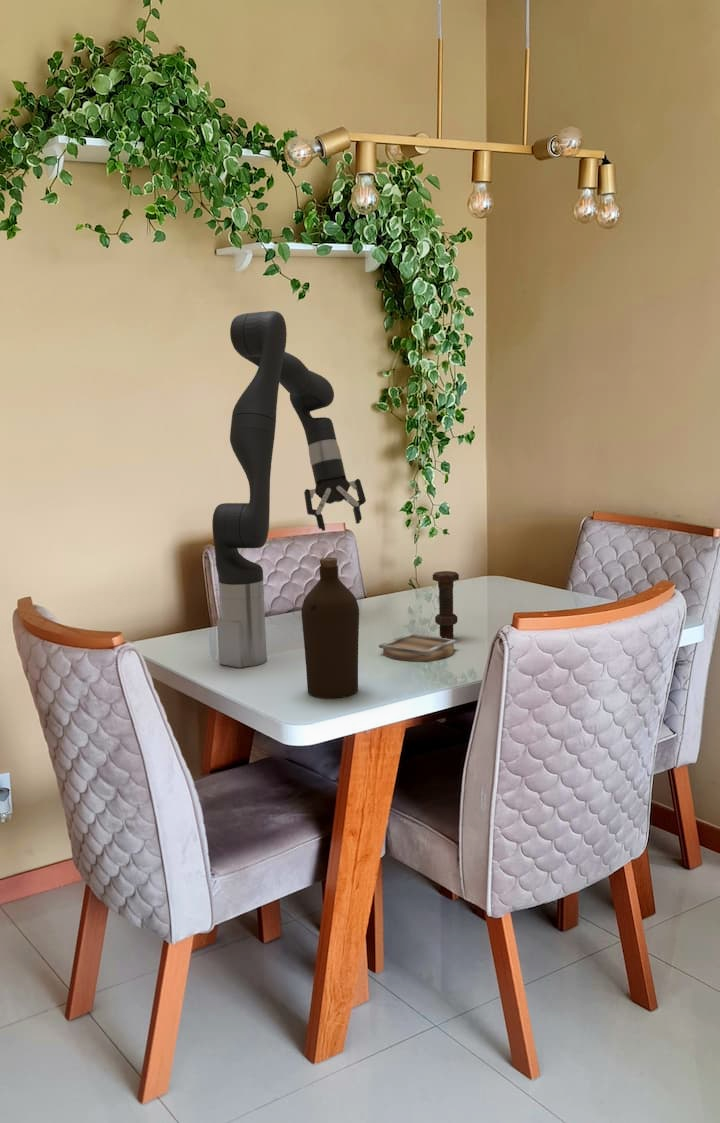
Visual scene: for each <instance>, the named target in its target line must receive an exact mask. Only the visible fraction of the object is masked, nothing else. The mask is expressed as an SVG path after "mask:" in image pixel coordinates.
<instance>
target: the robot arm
mask: <svg viewBox="0 0 720 1123" xmlns="http://www.w3.org/2000/svg"><path fill="white" fill-rule="evenodd" d="M229 333H230V340H231V345H232V346H233V348H234V350H235V351H236V352H237V354H239V356H241V357H242V358H243V359H245V360H247V361H249V362H251V363H252V364H253V365H255V366H257V367H258V368H257V371H256V373H255V375H254V376H253V378H252V380H251V381H250V382H249V384H248V385H247V386H246V388H245V389H244V391H243V392H242V394H241V395H240V397H239V398H238V399H237V402H236V403H235V405H234V407H233V408H232V409H233V410H232V415H231V423H230V429H229V430H230V433H229V443H230V445H231V448H232V451H233V453H234V455H235V457H236V459H237V461H238V462H239V464H240V466H241V468H242V470H243V471H244V473H245V476H246V479H247V481H248V484H249V485H248V488H249V501H248V502H247V503H245V502H239V503H238V502H224V503H220V504H218V505H217V506H216V507H215V508H214V511H213V515H212V521H211V522H212V537H213V539H212V540H213V546H214V548H213V549H214V556H215V567H216V573H217V577H218V578H217V580H218V594H219V596H218V598H219V599H218V600H219V612H220V613H219V615H220V616H219V617H220V618H217V620H216V624H217V626H216V628H217V644H218V645H217V646H218V647H217V648H218V661H219V662H218V663H219V665H224V666H229V667H234V668H238V669H240V668H245V667H253V666H258V665H261V664H264V663H266V662H267V660H268V657H267V656H268V655H267V635H266V634H267V632H266V612H265V611H266V609H265V607H266V606H265V590H264V589H265V588H264V569H263V567H262V566H261V565H260V564H258V563H256V562H253V561H251V560H249V559H247V558H245V557H244V556H243V555H242V554H241V553H240V552H239V549H260V548H263V547H264V546H265V544H266V542H267V540H268V535H269V531H270V530H269V529H270V508H271V507H270V502H271V501H270V500H271V499H270V498H271V473H272V460H273V453H274V452H273V451H274V445H275V444H274V442H275V435H276V427H277V426H276V425H277V408H278V398H279V397H278V396H279V395H278V394H279V388H280V387H279V386H280V385H281V386H282V387H283V389H285V390H286V391H287V392H288V393H289V400H290V403H291V405H292V407H293V410H294V412H296V415H297V417H298V419H299V421H300V423H301V425H302V427H303V429H304V434H305V437H306V442H307V446H308V456H309V463H310V466H311V470H312V474H313V479H314V484H315V488H314V489H313V488H312V489H308V488H306V489H305V490H304V492H303V494H304V500H305V502H304V503H305V507H306V513H307V515H309V516H314V517H315V518H316V523H317V528H318V529H319V530H321V531H322V532H324V531H326V525H325V522H324V517H323V514H322V512H323V509H324V507H325V505H326V504H328V505H331V504H334V503H340V502H343V501H345V502H346V503H348V504H349V505H350V506H352V511H353V515H354V516H353V517H354V520H355V524H356V525H358V524H360V523H361V521H362V513H361V509H360V507H361V506H362V505H364V504H365V503H366V501H367V499H366V495H365V493H364V489H363V485H362V481H361V479H359V478H357V479H355V480H352V481H348V479H347V476H346V472H345V467H344V462H343V458H342V455H341V454H342V452H341V450H340V446H339V443H338V441H337V436H336V433H335V427H334V423H333V421H332V419H331V418H329V417H326V416H325V417H322V416H321V417H313V416H312V415H311V412H313V411H317V410H320V409H323V408H326V407H329V406H330V405H331V404H332V402H334V398H335V392H334V388H333V386H332V384H331V382H330V381H329V380H328V379H326V377H325V376H322V375H320V374H319V373H316V372H314V371H312V370H310V369H309V368H308V367H307V366H306V365H305V364H304V363H303V362H302V360H300V358H298V357H296V356H295V355H293V354H291V353H289V352H287V351H286V345H287V335H288V334H287V333H288V332H287V325H286V320H285V318H284V315H282V313H280V312H279V311H275V310H270V311H269V310H267V311H266V310H265V311H257V312H249V313H246V312H245V313H242V314H239V315H236V316H235V317H234V318H233V319H232V320H231V324H230V328H229ZM350 487H351V488H352V489H353V490H356V494H357V497H358V500H356V499H355V498H354V497H353V496H352V495H351V494H350V493H348V492H349V490H350ZM315 495H317V497H318V498H320V499H321V500H320V501H319V504H318V506H317V508H316V509H313V503H312V499H313V498H314V496H315Z"/></svg>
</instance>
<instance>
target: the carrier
mask: <svg viewBox="0 0 720 1123" xmlns="http://www.w3.org/2000/svg"><path fill="white" fill-rule="evenodd" d="M457 643H458V640H457V639H453V638H452V639H447V638H446V637H445V638H441V637H438V636H431V635H423V634H418V633H408V634H406V635H403V636H400V637H398V638H394V639H391V640H389V641H386V642H384V643H381V644H378V648H380V649H382V651H383V655H384V656H385V657H387V658H389V659H392V660H397V661H403V662H430V661H438V660H443V659H447V658H448V657H451V656H453V654H455V648H454V647H455V645H456V644H457Z"/></svg>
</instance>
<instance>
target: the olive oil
mask: <svg viewBox="0 0 720 1123" xmlns="http://www.w3.org/2000/svg"><path fill="white" fill-rule="evenodd" d="M319 563H320V566H319V580H318V582H316V584H315V585H314V586H313V588H312V589H311V590H310V591H309V592H308V593H307V595H306V596H305V597H304V599H303V602H302V605H301V614H300V615H301V624H302V625H301V626H302V632H303V633H302V634H303V646H304V658H305V669H306V671H305V672H306V686H307V688H306V689H307V692H308V693H307V694H309V695H310V696H312V697H316V698H321V699H322V698H323V699H337V698H338V699H339V698H346V697H350V696H352V695H354V694H356V693H358V691H359V631H360V630H359V629H360V608H359V603H358V600H357V598H356V596H355V595H354V593H352V591H351V590H350V589H349V588H347V586H346V585H345V584H344V583H343V582H342V581H341V580H340V579H339V565H338V558H336V557H322V558H320V559H319Z"/></svg>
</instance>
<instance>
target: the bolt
mask: <svg viewBox="0 0 720 1123" xmlns="http://www.w3.org/2000/svg"><path fill="white" fill-rule="evenodd" d="M459 580H460V574H459V573H458V572H456V571H449V570H443V571H436V572H433V574H432V581H435V582H437V585H438V586H437V587H438V610H439V611H438V612H439V613H438V614H436V615H435V616H434V622H435V623H436V625H438V626H439V629H438V630H439V636H440V638H446V639H453V638H454V634H455V633H454V625H456V624H457V623H458V616H457V615H456V614H455V613H454V582H456V581H459Z"/></svg>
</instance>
